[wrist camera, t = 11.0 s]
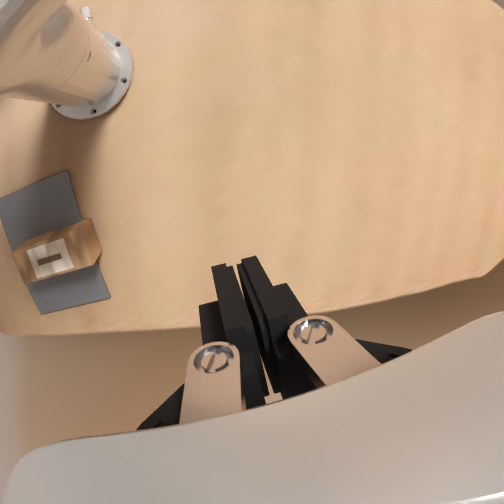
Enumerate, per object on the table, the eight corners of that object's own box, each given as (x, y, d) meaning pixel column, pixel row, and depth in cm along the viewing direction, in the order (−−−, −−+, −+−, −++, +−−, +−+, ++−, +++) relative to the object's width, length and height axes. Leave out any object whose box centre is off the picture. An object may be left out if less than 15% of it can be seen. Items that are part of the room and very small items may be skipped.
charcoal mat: (-4, 200, 35) (-5, 201, 34) (67, 170, 36) (66, 170, 36) (41, 312, 43) (40, 314, 42) (110, 296, 44) (110, 297, 44)
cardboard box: (90, 218, 39) (26, 240, 38) (79, 230, 34) (10, 253, 33) (102, 250, 41) (37, 269, 40) (92, 266, 36) (24, 285, 35)
